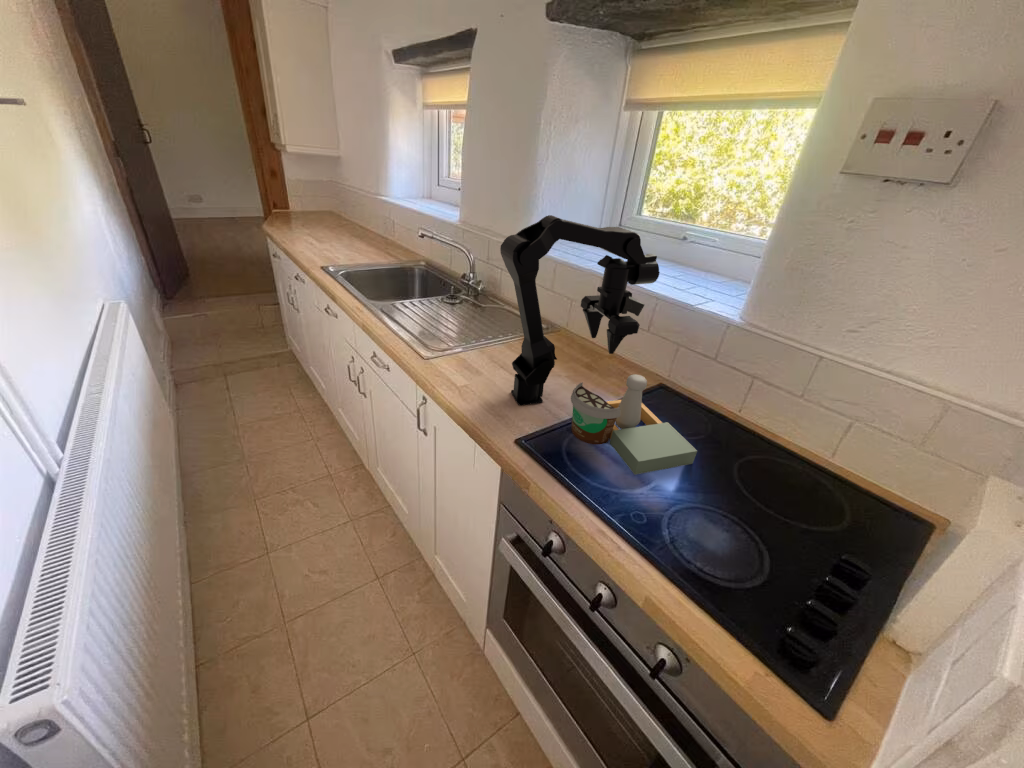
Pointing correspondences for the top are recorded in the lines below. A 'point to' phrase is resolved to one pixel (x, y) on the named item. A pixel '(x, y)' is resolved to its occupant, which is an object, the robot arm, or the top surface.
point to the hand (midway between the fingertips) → (602, 345)
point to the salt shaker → (631, 402)
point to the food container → (592, 416)
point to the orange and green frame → (651, 444)
